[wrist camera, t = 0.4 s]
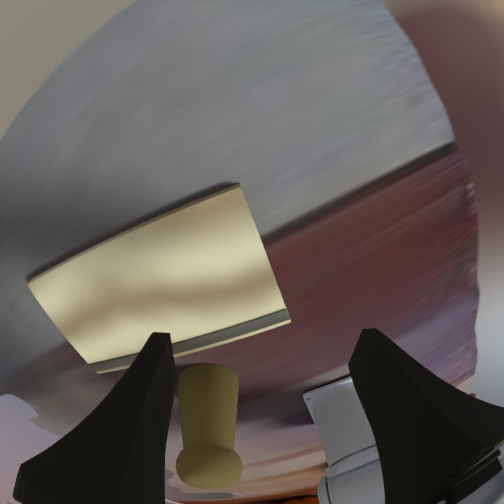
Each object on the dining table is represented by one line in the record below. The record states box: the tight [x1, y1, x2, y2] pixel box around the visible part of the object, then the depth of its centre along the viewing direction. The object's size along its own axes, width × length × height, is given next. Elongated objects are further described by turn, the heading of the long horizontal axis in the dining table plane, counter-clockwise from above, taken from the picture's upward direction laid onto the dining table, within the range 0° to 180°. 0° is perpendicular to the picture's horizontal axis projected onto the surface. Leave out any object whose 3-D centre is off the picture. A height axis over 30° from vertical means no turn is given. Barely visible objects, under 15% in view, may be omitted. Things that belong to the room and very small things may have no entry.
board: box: [27, 183, 291, 374], centre depth 20 cm, size 11×19×1 cm, turn 110°
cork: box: [176, 364, 243, 489], centre depth 20 cm, size 6×6×11 cm
